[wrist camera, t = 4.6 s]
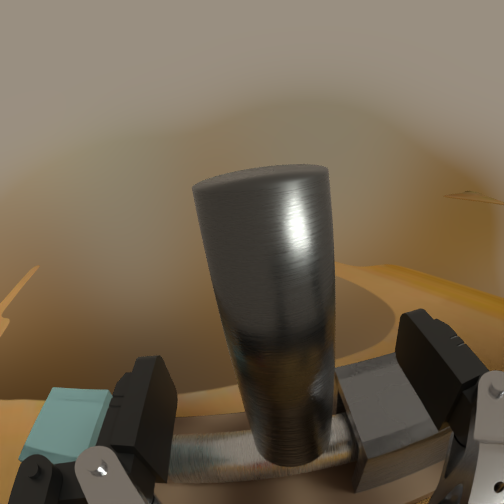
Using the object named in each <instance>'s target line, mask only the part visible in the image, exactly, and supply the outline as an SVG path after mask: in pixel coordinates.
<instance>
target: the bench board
mask: <svg viewBox="0 0 504 504" xmlns="http://www.w3.org/2000/svg"><path fill="white" fill-rule="evenodd" d="M243 430H251V429H250V425H249V422H248V418H247V415H246V412H240V413H231V414H221V415H209V416H193V417H175V423H174V431H173V435H185V434H207V433H221V432H233V431H243ZM444 461H445V460H443V461H441V462H438V463H436V464H434V465H432V466H430V467H428V468H425V469H423V470H421V471H418V472H416V473H414V474H411V475H409V476H406V477H404V478H401V479H398V480H396V481H393V482H390V483H387V484H385V485H382V486H379V487H376V488H373V489H369V490H366V491H363V492H359V493H356V494H355V492H354V489H353V485H352V482H351V480H352V476H353V473H354V470H355V466H356V463H357V461H353V462H350V463H346V464H342V465H338V466H334V467H330V468H325V469H321V470H316V471H311V472H306V473H301V474H295V475H289V476H283V477H276V478H268V479H260V480H251V481H239V482H223V483H174V482H173V481H172V480H171V479H170V477H169V475H168V479H167V483H155V487H154V493H155V494H156V496H157V497H158V498H159V500H160V501H161V503H162V504H415V503H417V502H420V501H422V500H424V499H426V498H429V497H431V496H432V495H433V493H434V491H435V489H436V487H437V485H438V483H439V480H440V477H441V473H442V469H443V465H444Z"/></svg>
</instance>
